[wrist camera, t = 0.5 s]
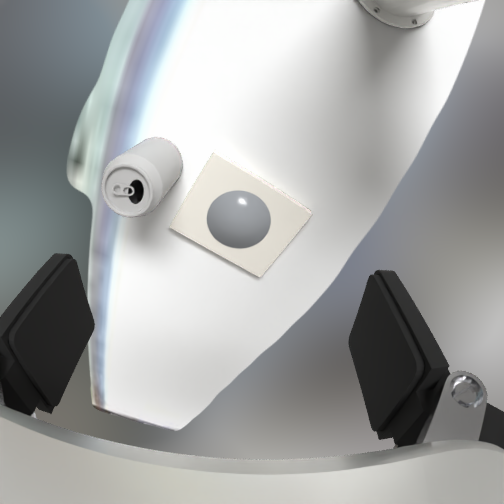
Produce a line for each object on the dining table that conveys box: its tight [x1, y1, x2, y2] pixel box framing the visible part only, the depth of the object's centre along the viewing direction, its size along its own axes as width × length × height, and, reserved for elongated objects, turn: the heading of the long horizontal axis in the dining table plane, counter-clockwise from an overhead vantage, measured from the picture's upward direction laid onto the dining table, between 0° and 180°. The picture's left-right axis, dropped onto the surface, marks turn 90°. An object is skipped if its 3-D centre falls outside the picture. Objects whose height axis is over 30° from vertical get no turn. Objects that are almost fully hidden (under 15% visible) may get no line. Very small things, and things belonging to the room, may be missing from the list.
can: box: [101, 137, 183, 217], centre depth 35 cm, size 8×8×12 cm
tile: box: [169, 150, 312, 277], centre depth 44 cm, size 13×16×2 cm
